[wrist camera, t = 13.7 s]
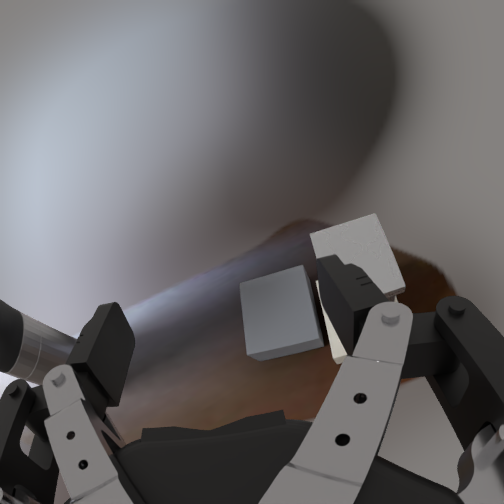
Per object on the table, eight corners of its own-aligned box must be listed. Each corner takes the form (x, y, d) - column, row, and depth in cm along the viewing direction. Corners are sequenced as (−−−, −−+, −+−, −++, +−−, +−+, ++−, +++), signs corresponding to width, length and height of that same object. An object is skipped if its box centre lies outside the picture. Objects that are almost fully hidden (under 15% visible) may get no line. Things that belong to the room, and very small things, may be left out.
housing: (343, 344, 28) (330, 310, 20) (329, 288, 32) (309, 233, 23) (394, 329, 27) (405, 286, 18) (377, 274, 31) (375, 213, 22)
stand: (259, 361, 35) (247, 354, 32) (251, 295, 40) (239, 283, 37) (324, 346, 33) (318, 338, 30) (309, 279, 38) (302, 264, 35)
